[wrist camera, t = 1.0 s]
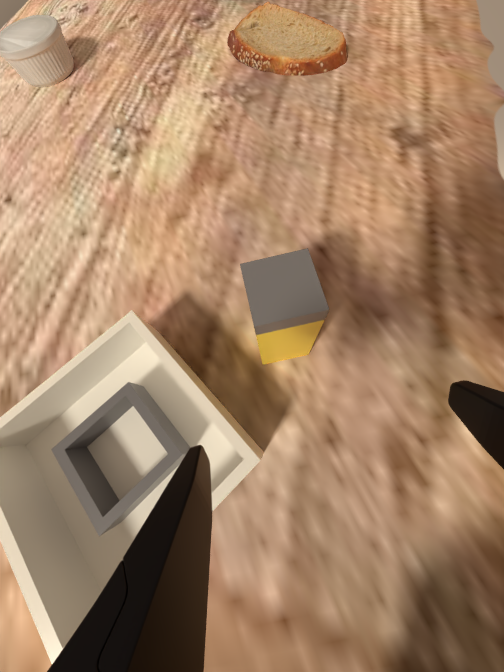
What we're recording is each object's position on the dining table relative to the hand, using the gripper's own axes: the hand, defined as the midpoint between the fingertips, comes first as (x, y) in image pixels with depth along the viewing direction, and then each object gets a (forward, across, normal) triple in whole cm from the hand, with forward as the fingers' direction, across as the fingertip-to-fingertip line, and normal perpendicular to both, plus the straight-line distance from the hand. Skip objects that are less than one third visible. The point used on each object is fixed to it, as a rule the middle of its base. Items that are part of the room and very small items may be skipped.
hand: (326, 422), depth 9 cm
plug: (+16, -1, +4) cm, 16 cm away
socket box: (+10, +14, +9) cm, 20 cm away
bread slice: (+52, -15, -29) cm, 61 cm away
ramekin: (+60, +27, -38) cm, 76 cm away
